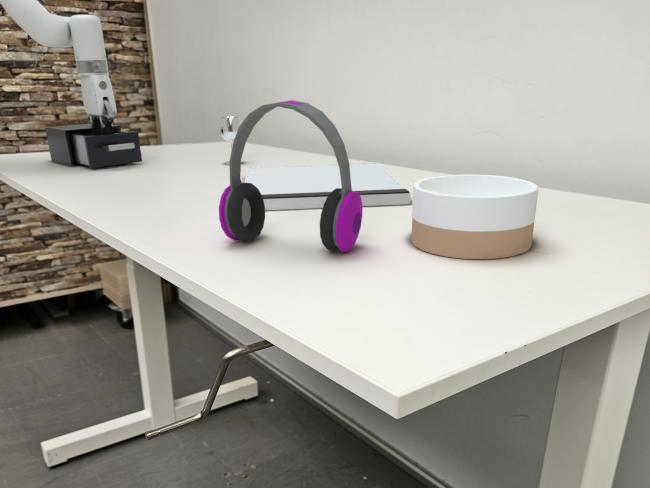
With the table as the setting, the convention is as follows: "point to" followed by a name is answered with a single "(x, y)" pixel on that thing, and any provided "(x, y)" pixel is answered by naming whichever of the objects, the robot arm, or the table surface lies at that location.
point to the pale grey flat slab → (324, 185)
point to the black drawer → (105, 148)
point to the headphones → (247, 202)
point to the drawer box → (65, 142)
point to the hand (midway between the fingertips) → (104, 141)
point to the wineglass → (229, 128)
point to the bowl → (473, 216)
